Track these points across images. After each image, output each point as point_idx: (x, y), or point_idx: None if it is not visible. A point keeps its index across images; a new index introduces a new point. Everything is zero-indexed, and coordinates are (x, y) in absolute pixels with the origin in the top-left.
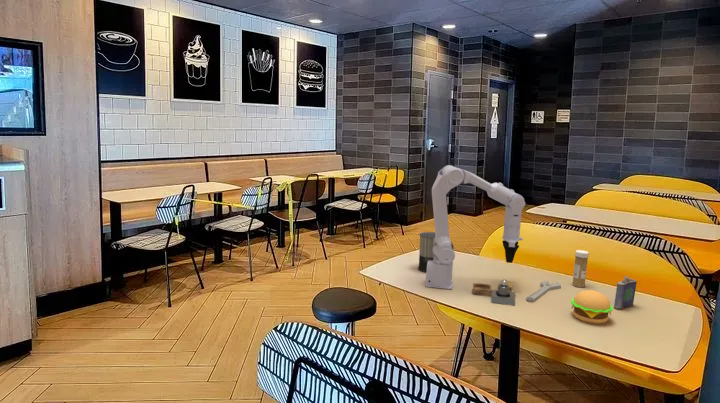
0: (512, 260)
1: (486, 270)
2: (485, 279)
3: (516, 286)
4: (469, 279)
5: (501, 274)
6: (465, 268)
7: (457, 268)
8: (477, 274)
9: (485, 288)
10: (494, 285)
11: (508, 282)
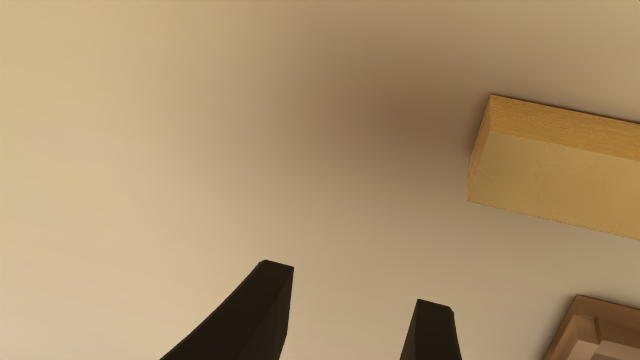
0: (455, 348)
1: (14, 178)
2: (263, 247)
3: (418, 7)
4: (299, 350)
5: (59, 75)
6: (51, 306)
7: (79, 349)
8: (154, 269)
9: (596, 353)
10: (418, 222)
11: (539, 175)
